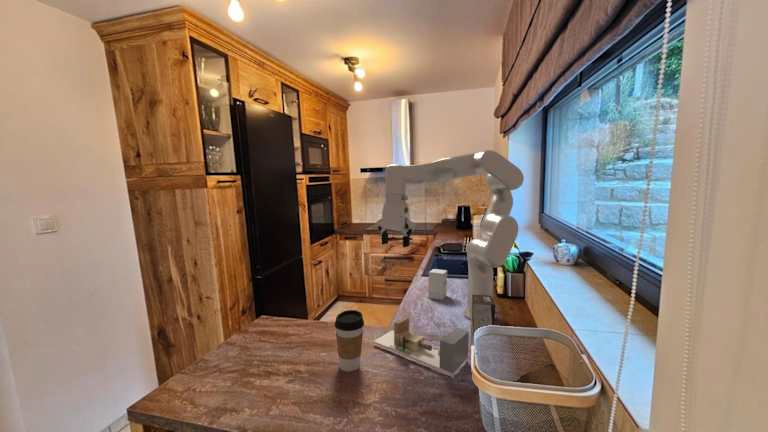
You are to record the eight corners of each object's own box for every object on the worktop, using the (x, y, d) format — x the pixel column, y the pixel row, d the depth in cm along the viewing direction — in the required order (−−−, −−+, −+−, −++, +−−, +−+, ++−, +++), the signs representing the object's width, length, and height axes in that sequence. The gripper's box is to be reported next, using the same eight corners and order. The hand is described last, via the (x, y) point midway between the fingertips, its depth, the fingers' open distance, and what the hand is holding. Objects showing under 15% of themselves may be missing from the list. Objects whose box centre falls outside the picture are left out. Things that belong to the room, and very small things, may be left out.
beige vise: (373, 345, 99) (373, 317, 98) (392, 334, 107) (392, 308, 106) (452, 378, 82) (453, 344, 81) (467, 362, 89) (468, 331, 89)
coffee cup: (368, 360, 90) (368, 311, 89) (357, 376, 82) (356, 323, 81) (343, 355, 93) (342, 308, 92) (329, 370, 85) (328, 319, 84)
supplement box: (443, 300, 140) (443, 273, 139) (427, 298, 143) (428, 271, 142) (447, 295, 147) (447, 270, 146) (432, 293, 150) (432, 268, 149)
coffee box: (494, 356, 93) (496, 304, 92) (472, 353, 94) (473, 303, 93) (490, 341, 102) (491, 294, 100) (470, 339, 103) (471, 293, 102)
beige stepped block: (391, 346, 95) (391, 324, 94) (404, 337, 101) (405, 316, 100) (423, 359, 88) (423, 335, 87) (435, 349, 94) (436, 326, 93)
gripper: (421, 199, 108) (420, 246, 110) (383, 198, 119) (383, 241, 121) (409, 199, 103) (409, 249, 104) (370, 198, 113) (370, 244, 115)
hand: (395, 245), depth 112 cm, fingers open, 9 cm apart
